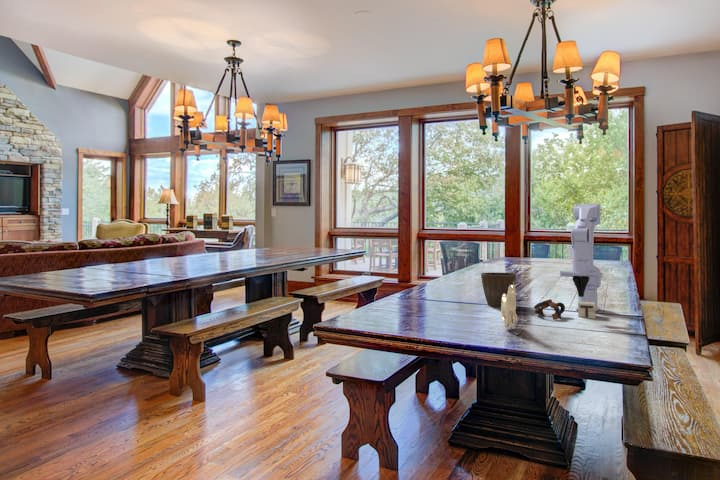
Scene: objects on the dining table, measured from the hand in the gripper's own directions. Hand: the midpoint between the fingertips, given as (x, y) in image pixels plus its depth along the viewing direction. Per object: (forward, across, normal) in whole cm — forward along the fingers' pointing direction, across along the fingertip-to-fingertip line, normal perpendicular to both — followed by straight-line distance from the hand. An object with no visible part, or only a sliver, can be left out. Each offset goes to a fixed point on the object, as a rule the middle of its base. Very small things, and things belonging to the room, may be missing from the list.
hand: (581, 296), depth 183 cm
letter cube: (+10, 0, +11) cm, 15 cm away
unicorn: (+10, -18, -27) cm, 34 cm away
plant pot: (+10, -36, +12) cm, 39 cm away
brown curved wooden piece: (+10, -9, +1) cm, 14 cm away
